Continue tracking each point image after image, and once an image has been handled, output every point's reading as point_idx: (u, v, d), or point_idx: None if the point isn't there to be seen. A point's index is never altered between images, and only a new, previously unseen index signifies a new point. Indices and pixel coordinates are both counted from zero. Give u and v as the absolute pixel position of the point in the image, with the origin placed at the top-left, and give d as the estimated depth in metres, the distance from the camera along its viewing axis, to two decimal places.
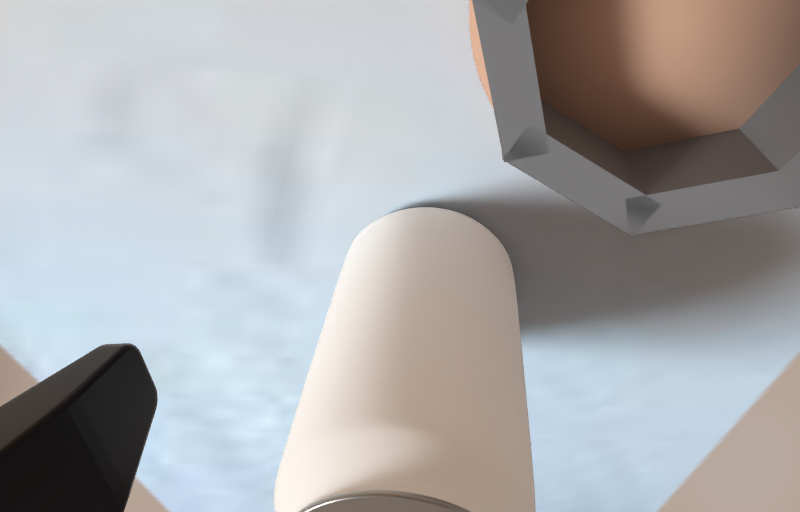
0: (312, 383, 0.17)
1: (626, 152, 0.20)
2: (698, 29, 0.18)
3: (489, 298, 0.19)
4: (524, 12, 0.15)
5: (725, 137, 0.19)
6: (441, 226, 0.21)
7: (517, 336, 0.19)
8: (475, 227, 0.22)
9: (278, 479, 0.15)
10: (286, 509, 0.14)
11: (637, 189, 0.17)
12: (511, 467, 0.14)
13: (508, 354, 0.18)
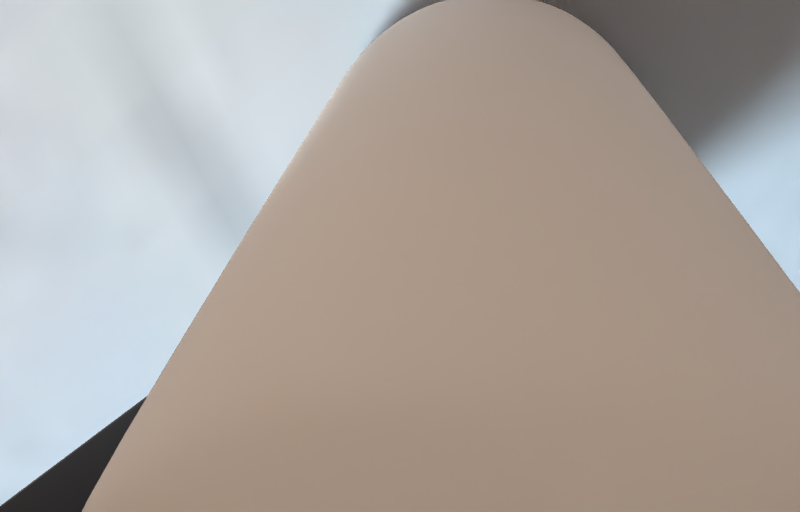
0: None
1: None
2: None
3: (509, 52, 0.08)
4: None
5: None
6: (398, 30, 0.11)
7: (631, 92, 0.08)
8: None
9: None
10: None
11: None
12: (702, 398, 0.03)
13: (595, 112, 0.06)
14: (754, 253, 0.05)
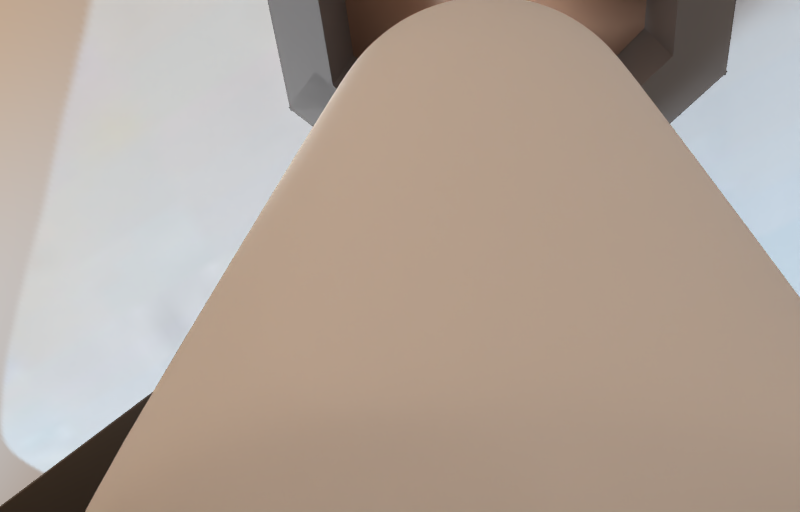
0: None
1: None
2: None
3: (508, 55, 0.08)
4: None
5: (632, 46, 0.17)
6: (397, 32, 0.11)
7: (630, 95, 0.08)
8: (469, 1, 0.11)
9: None
10: None
11: None
12: (703, 406, 0.03)
13: (594, 116, 0.06)
14: (753, 257, 0.05)
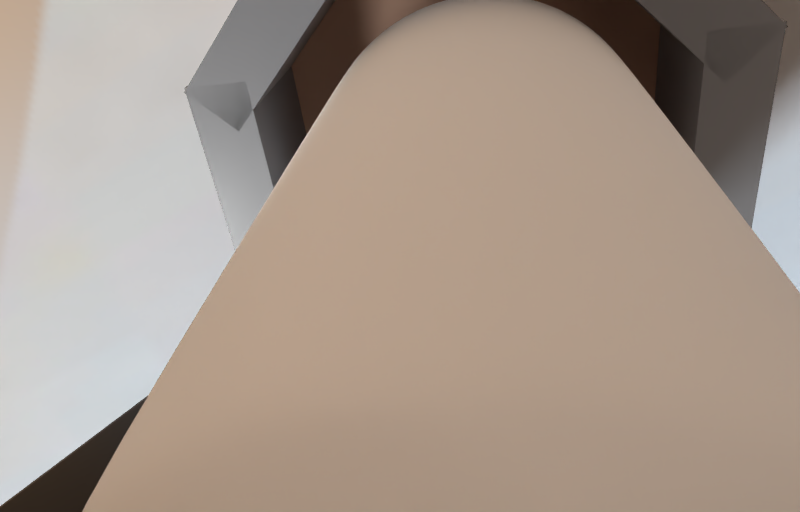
0: None
1: None
2: None
3: (508, 52, 0.08)
4: None
5: None
6: (396, 31, 0.11)
7: (630, 92, 0.08)
8: None
9: None
10: None
11: None
12: (704, 403, 0.03)
13: (595, 114, 0.06)
14: (755, 254, 0.05)
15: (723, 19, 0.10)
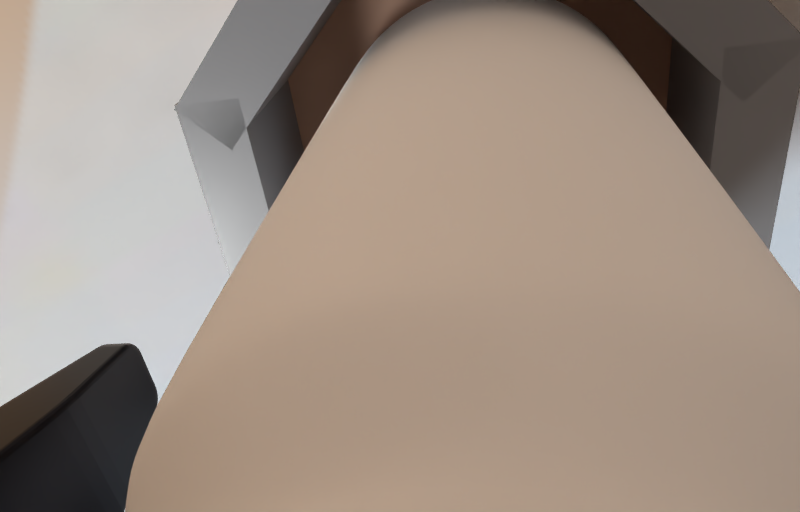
0: None
1: None
2: None
3: (503, 38, 0.09)
4: None
5: None
6: (403, 24, 0.12)
7: (614, 70, 0.08)
8: None
9: None
10: None
11: None
12: (642, 288, 0.04)
13: (577, 86, 0.07)
14: (710, 196, 0.06)
15: (742, 35, 0.10)
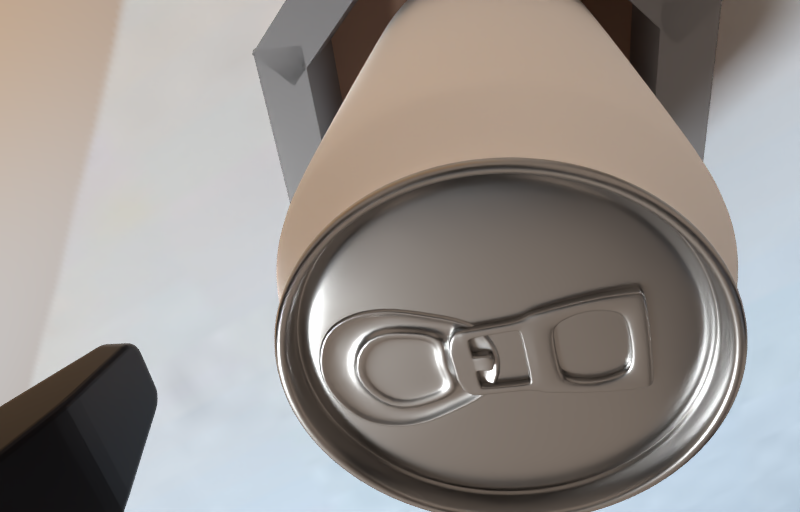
0: None
1: None
2: None
3: None
4: None
5: None
6: None
7: (578, 12, 0.12)
8: None
9: None
10: None
11: None
12: (570, 84, 0.07)
13: (549, 14, 0.11)
14: (625, 70, 0.09)
15: None
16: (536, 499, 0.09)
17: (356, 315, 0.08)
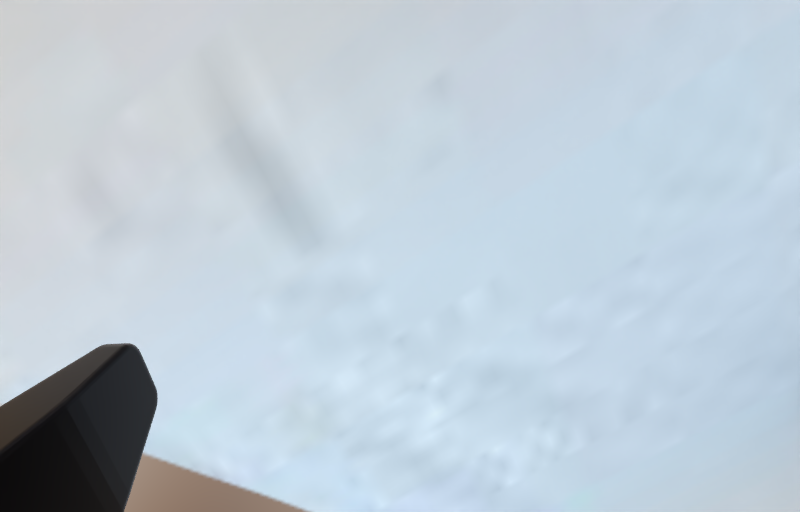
0: None
1: None
2: None
3: None
4: None
5: None
6: None
7: None
8: None
9: None
10: None
11: None
12: None
13: None
14: None
15: None
16: None
17: None
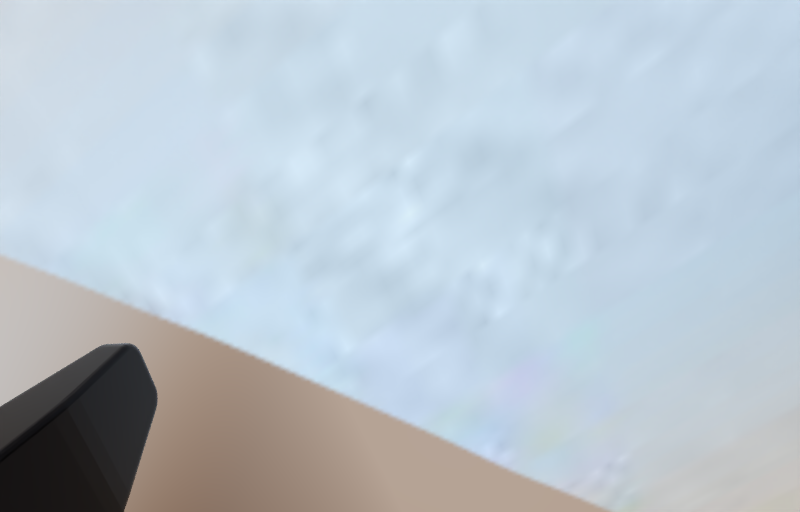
0: None
1: None
2: None
3: None
4: None
5: None
6: None
7: None
8: None
9: None
10: None
11: None
12: None
13: None
14: None
15: None
16: None
17: None
